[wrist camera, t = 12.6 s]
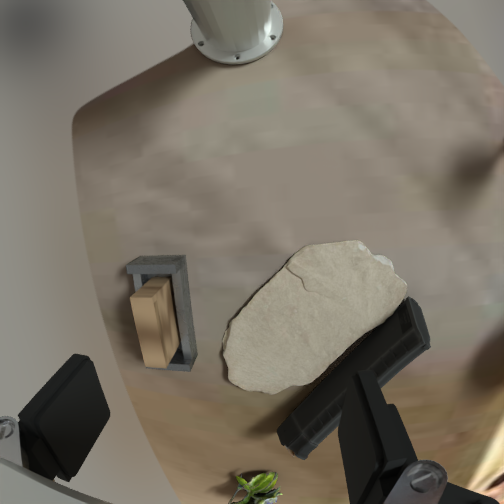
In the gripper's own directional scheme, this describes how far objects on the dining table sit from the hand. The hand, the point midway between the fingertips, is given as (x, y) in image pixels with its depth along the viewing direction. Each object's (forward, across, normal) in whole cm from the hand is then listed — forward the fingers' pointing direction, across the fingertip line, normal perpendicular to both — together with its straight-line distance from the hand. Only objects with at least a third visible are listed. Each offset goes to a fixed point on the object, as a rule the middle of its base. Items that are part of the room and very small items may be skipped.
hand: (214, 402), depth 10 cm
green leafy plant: (+31, +1, +55) cm, 63 cm away
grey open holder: (+32, +13, +12) cm, 37 cm away
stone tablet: (+33, -6, +14) cm, 36 cm away
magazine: (+32, -14, +23) cm, 42 cm away
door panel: (+31, +13, +12) cm, 36 cm away
